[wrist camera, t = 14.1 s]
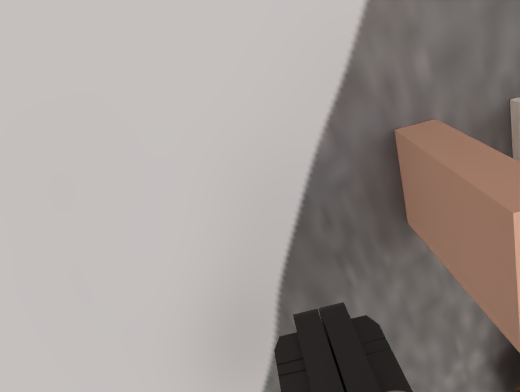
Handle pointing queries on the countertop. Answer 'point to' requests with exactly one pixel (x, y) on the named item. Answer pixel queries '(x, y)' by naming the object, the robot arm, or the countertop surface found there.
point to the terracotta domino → (466, 214)
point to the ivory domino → (515, 127)
